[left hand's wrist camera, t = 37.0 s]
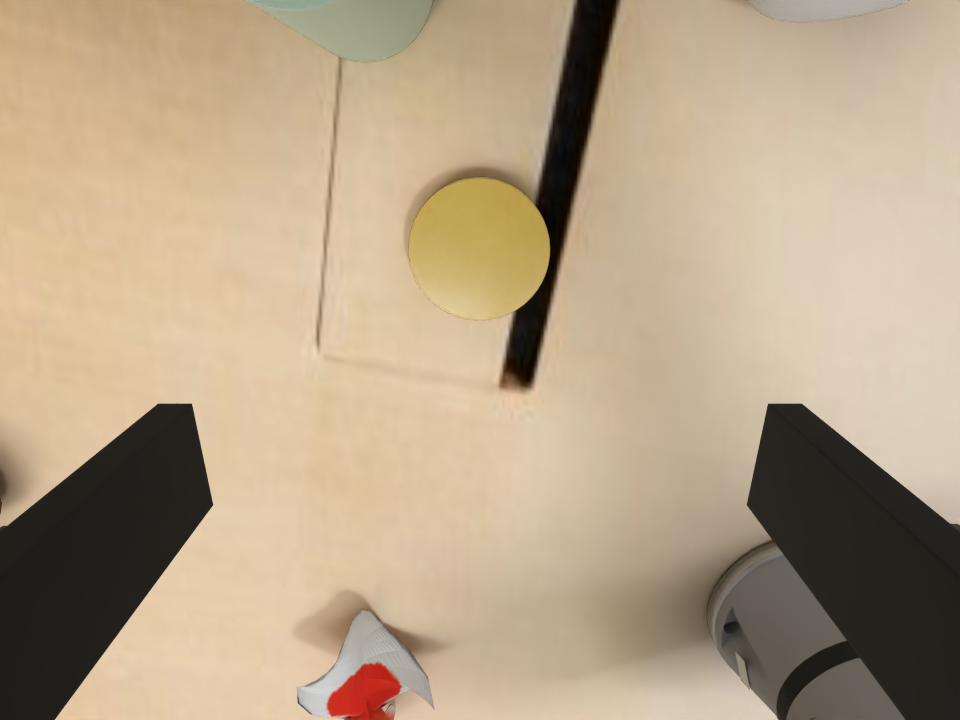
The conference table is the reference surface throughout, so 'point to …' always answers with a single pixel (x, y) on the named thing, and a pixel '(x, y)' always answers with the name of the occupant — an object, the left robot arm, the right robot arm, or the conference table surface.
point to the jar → (352, 24)
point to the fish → (365, 675)
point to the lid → (479, 248)
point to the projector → (819, 8)
